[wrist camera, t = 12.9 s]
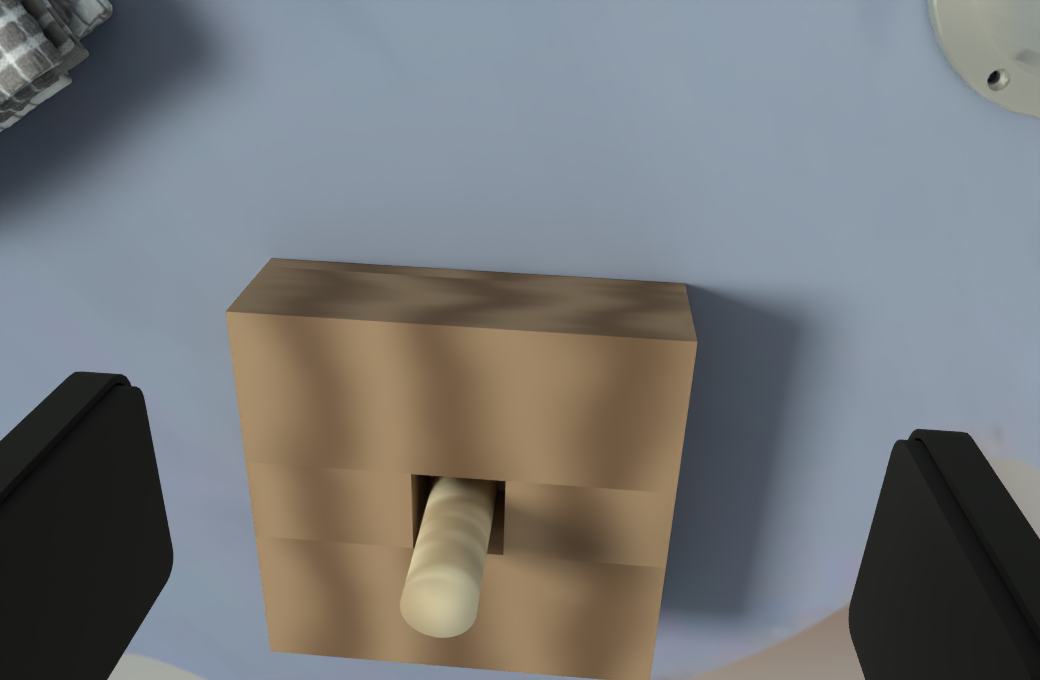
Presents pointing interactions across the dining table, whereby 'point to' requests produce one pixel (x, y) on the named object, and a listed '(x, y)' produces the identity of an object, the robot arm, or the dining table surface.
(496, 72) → the dining table surface
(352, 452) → the bore block
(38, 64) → the towel
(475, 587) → the peg
